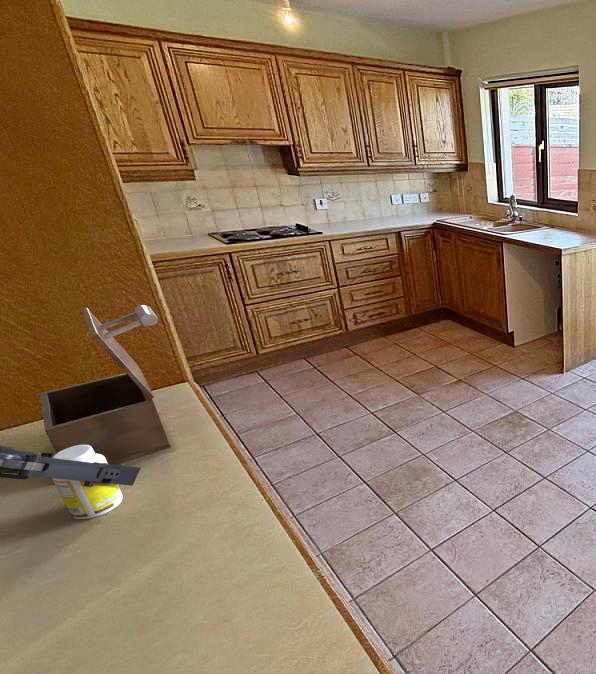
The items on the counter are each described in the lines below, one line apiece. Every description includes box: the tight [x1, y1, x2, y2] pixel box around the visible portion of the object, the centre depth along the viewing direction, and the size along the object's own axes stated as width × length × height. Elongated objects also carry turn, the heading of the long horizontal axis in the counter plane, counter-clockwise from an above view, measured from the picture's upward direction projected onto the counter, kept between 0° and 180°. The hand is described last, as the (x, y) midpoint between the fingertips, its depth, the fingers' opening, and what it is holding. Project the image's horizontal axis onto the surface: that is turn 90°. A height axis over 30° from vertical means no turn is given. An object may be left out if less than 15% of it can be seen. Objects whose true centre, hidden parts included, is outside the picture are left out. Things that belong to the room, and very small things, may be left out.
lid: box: [82, 304, 159, 399], centre depth 84 cm, size 14×16×8 cm
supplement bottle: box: [51, 445, 123, 520], centre depth 70 cm, size 6×6×10 cm
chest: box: [39, 372, 172, 465], centre depth 83 cm, size 13×16×10 cm
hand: (115, 474), depth 74 cm, fingers closed on supplement bottle, 5 cm apart
